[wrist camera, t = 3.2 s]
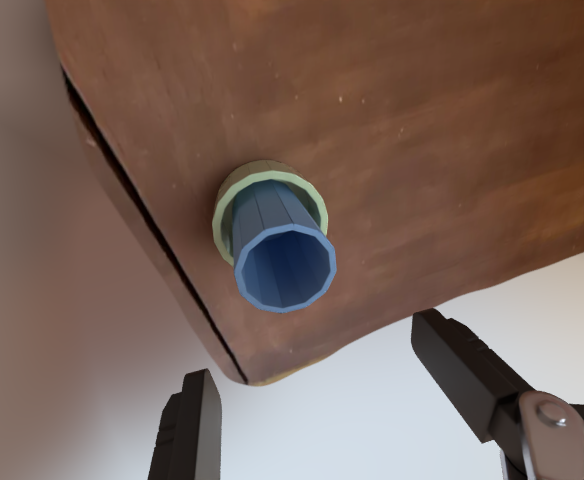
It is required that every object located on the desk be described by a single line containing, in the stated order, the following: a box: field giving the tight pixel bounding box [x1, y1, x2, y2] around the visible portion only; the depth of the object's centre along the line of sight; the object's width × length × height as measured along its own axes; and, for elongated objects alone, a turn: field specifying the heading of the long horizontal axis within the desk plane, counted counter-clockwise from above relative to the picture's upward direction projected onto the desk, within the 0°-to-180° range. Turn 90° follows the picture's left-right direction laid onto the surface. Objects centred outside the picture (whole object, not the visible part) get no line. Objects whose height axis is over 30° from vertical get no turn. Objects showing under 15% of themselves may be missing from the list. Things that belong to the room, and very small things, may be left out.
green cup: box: [212, 160, 328, 267], centre depth 23 cm, size 9×9×4 cm
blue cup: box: [232, 179, 336, 313], centre depth 20 cm, size 6×6×10 cm
